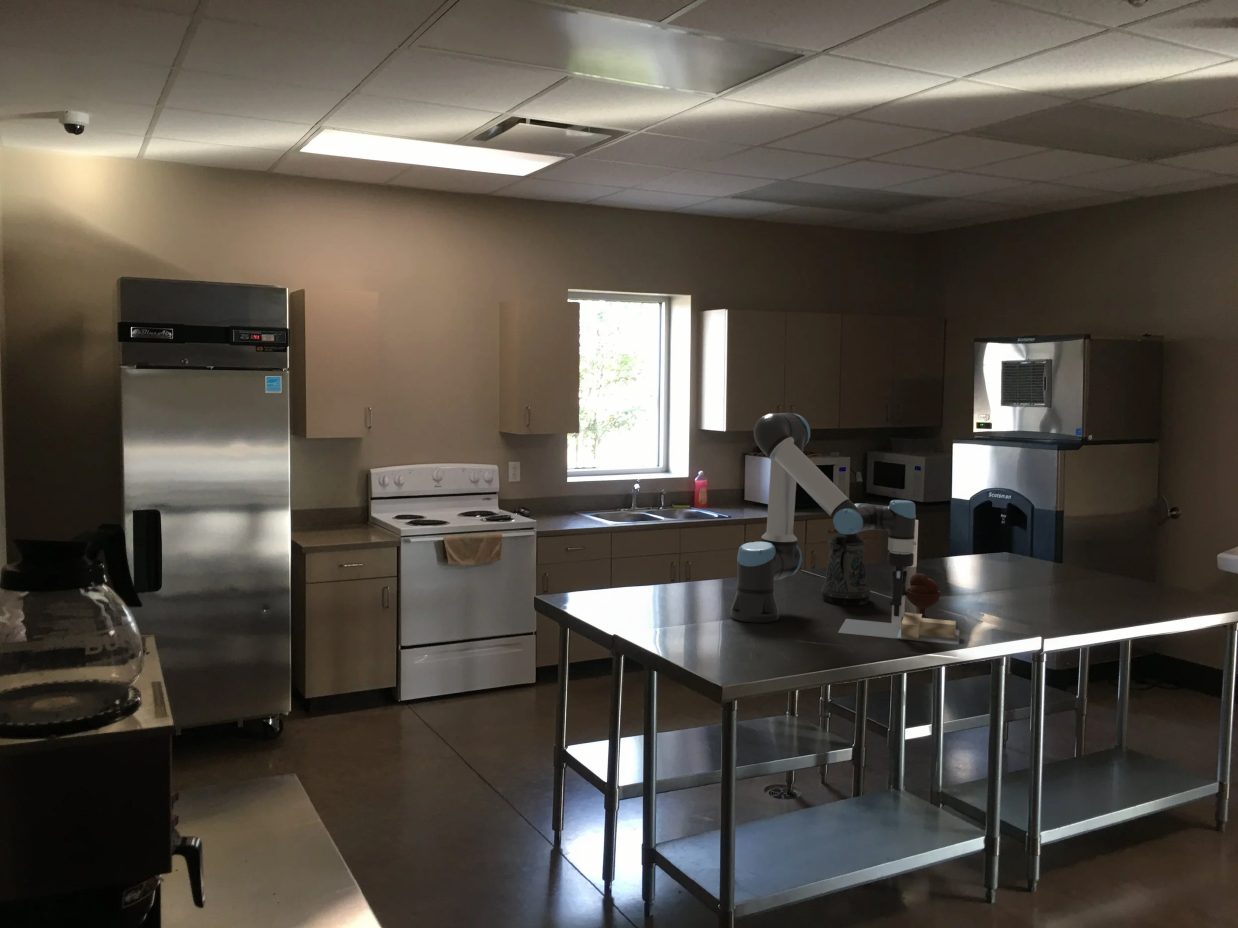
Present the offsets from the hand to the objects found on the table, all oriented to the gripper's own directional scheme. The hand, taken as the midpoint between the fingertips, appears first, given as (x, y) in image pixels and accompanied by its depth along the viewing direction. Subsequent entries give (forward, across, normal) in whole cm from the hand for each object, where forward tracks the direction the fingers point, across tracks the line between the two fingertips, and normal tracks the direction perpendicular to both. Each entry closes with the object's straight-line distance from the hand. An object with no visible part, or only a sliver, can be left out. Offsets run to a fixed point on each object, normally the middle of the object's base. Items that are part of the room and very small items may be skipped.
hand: (897, 621), depth 301 cm
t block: (+3, 0, -9) cm, 9 cm away
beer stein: (+3, +38, +20) cm, 43 cm away
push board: (+3, 0, 0) cm, 3 cm away
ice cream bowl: (+3, +19, -6) cm, 20 cm away
